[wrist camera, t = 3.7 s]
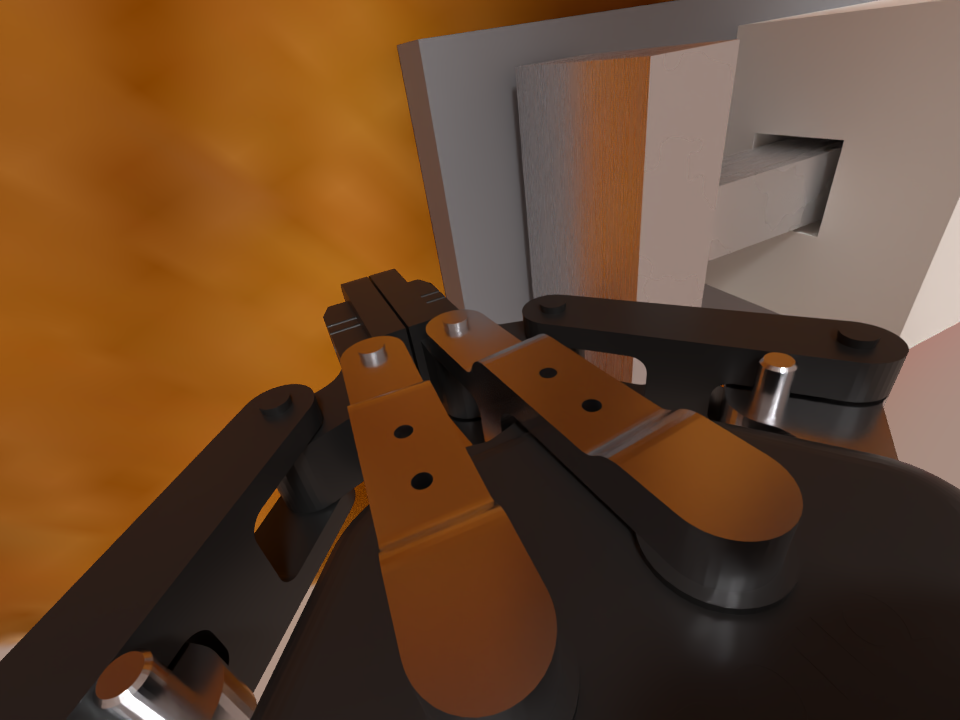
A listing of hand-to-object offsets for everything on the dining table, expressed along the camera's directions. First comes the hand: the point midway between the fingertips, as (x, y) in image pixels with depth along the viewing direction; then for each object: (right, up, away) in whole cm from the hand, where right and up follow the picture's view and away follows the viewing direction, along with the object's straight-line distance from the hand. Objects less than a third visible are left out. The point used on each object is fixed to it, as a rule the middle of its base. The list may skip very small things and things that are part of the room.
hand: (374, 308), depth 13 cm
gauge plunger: (+10, +3, +7) cm, 12 cm away
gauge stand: (+12, +5, +9) cm, 16 cm away
